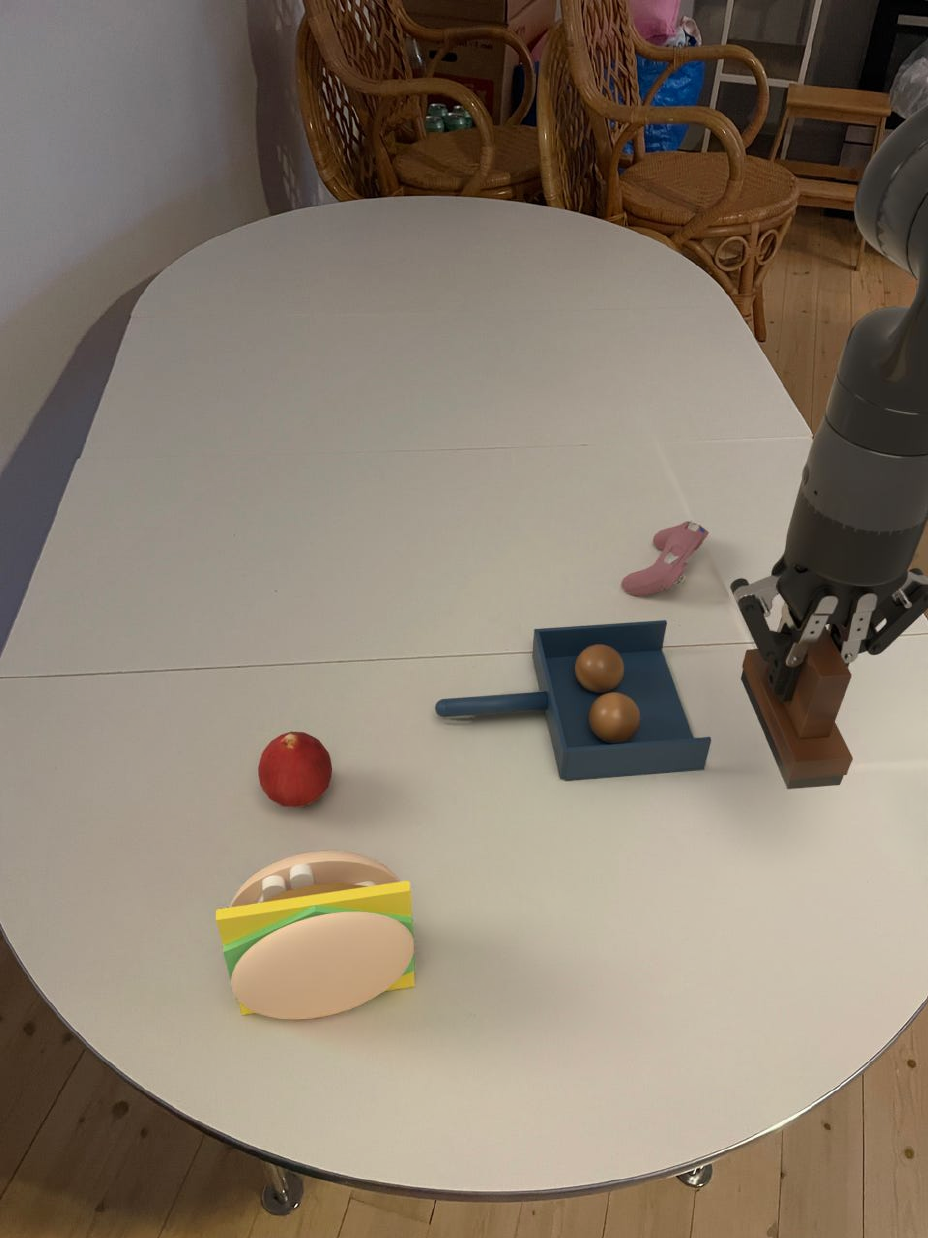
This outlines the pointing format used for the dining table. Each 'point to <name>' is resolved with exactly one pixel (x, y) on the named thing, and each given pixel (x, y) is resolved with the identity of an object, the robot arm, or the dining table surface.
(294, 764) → the onion
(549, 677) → the dustpan
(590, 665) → the brown ball
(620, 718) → the cork ball
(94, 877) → the dining table surface
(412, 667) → the dining table surface
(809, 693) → the brush
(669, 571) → the pink socks
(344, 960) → the hamburger
